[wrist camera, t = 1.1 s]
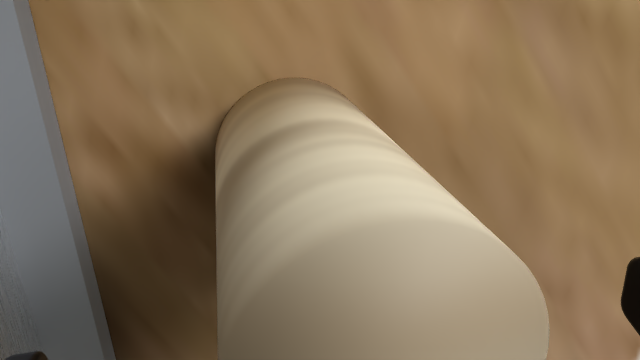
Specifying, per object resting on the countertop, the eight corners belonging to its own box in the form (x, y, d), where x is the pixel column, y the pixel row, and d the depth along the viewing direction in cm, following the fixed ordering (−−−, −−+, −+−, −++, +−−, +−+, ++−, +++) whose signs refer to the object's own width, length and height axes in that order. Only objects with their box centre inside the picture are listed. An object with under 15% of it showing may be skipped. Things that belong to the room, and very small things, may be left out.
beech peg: (369, 214, 16) (531, 464, 8) (224, 232, 15) (238, 528, 7) (367, 71, 14) (569, 199, 6) (205, 84, 14) (195, 249, 6)
